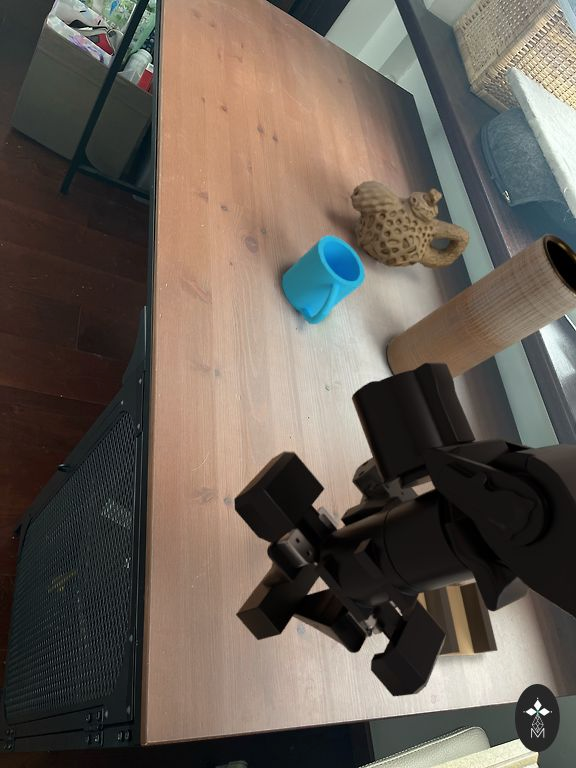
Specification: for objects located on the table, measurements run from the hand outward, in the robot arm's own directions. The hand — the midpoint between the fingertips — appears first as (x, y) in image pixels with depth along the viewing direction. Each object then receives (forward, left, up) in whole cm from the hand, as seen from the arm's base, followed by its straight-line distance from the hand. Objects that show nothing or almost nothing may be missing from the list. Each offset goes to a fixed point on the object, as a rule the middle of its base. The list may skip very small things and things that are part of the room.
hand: (277, 593), depth 51 cm
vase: (-1, -52, -11) cm, 53 cm away
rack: (-24, -23, -11) cm, 35 cm away
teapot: (+16, -66, -11) cm, 69 cm away
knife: (0, -4, -1) cm, 4 cm away
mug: (+17, -42, -11) cm, 47 cm away
